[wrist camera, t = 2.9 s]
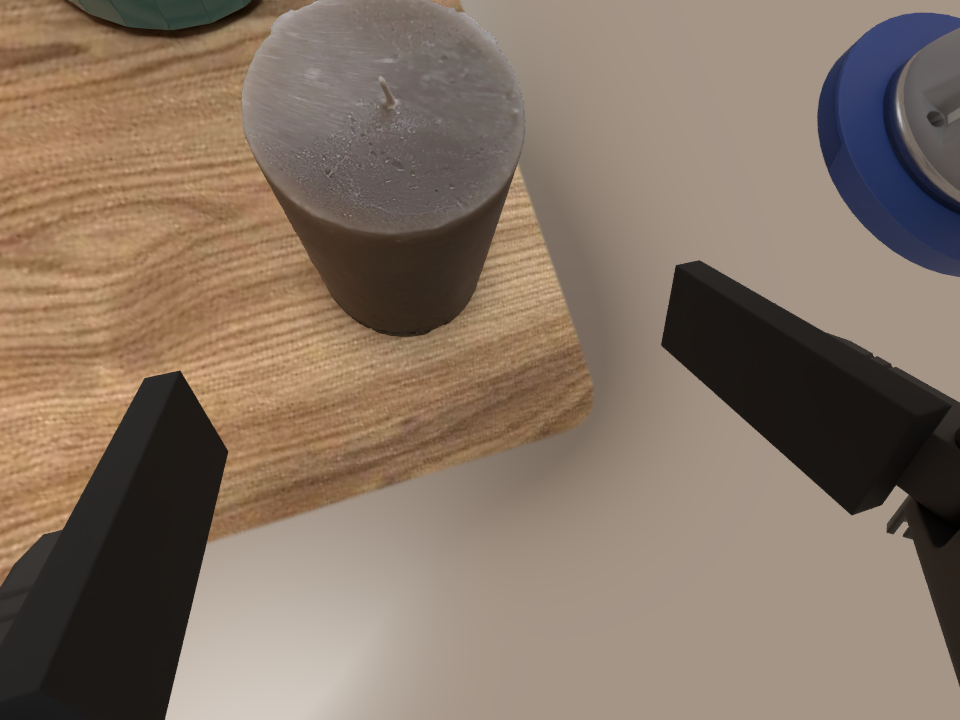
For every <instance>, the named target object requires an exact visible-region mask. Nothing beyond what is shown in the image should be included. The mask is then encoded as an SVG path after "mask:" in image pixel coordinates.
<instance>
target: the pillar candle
mask: <svg viewBox="0 0 960 720" xmlns="http://www.w3.org/2000/svg"><path fill="white" fill-rule="evenodd" d="M270 30H271V34H270V36H269V37H267V38H266V39H265V40H264V41H263V43H262V45H261V47H260V48H259V49H258V50H257V51H256V52H255V54H254V58H253V60H252V62H251V63H250V66H249V69H248V72H247V75H246V78H245V80H244V83H243V89H242V102H241V105H242V122H243V129H244V133H245V137H246V139H247V142H248V144H249V147H250V149H251V151H252V153H253V155H254V157H255V159H256V161H257V163H258V165H259V167H260V168H261V170H262V172H263V174H264V176H265V178H266V180H267V181H268V183H269V185H270V187H271V188H272V190H273V192H274V194H275V196H276V198H277V199H278V201H279V203H280V205H281V206H282V208H283V210H284V211H285V214H286V216H287V217H288V219H289V221H290V223H291V224H292V227H293V229H294V231H295V232H296V233H297V235H298V237H299V238H300V240H301V242H302V244H303V246H304V248H305V249H306V251H307V252H308V255H309V257H310V259H311V261H312V263H313V264H314V265H315V267H316V268H317V270H318V272H319V274H320V276H321V277H322V279H323V281H324V282H325V284H326V286H327V288H328V290H329V291H330V293H331V295H332V297H333V298H334V300H335V301H336V302H337V303H338V304H339V305H340V306H341V307H342V308H343V310H344V311H345V312H346V313H347V314H348V315H349V316H351V317H352V318H353V319H354V320H356V321H357V322H359V323H360V324H362V325H363V326H365V327H367V328H372V330H375V331H376V332H380V333H383V334H388V335H393V336H416V335H423V334H427V333H429V332H430V331H431V330H433V329H435V328H438V327H439V326H441V325H443V324H447V323H449V322H451V321H452V320H453V319H454V318H455V317H456V316H457V315H458V314H459V313H460V312H461V311H462V310H463V309H464V308H465V306H466V305H467V304H468V302H469V300H470V298H471V297H472V295H473V293H474V290H475V288H476V286H477V282H478V279H479V276H480V273H481V271H482V268H483V265H484V262H485V259H486V256H487V253H488V250H489V248H490V244H491V241H492V238H493V235H494V232H495V229H496V226H497V224H498V220H499V218H500V215H501V211H502V208H503V206H504V203H505V200H506V197H507V194H508V191H509V188H510V184H511V182H512V179H513V176H514V172H515V169H516V167H517V164H518V161H519V158H520V155H521V151H522V147H523V143H524V135H525V111H524V101H523V99H522V94H521V91H520V87H519V82H518V80H517V78H516V76H515V73H514V71H513V69H512V67H511V66H510V65H509V63H508V61H507V59H506V57H505V56H504V55H503V53H502V51H501V50H500V49H499V47H498V43H497V41H496V39H495V38H494V36H493V35H492V34H490V33H488V31H483V30H482V29H481V27H480V25H479V24H478V23H477V22H476V21H475V20H473V19H472V18H470V17H469V16H468V15H466V14H465V13H459V12H457V11H455V9H454V8H446V7H444V6H441V5H438V4H436V3H433V2H432V1H430V0H317V1H316V2H314V3H312V4H310V5H308V6H304V7H302V8H301V9H299V10H297V11H293V10H291V9H290V10H289V11H288V12H287V13H285V14H282V15H281V16H280V17H279V18H278V19H277V20H275V22H274V23H273V25H272V26H271V28H270Z"/></svg>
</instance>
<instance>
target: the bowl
mask: <svg viewBox="0 0 960 720" xmlns="http://www.w3.org/2000/svg"><path fill="white" fill-rule="evenodd" d="M69 1H70V2H72V3H73V4H75V5H76V6H78V7H79V8H81V9H82V10H84V11H85V12H87V13H89V14H90V15H93V16H96V17H99V18H102V19H105V20H108V21H111V22H114V23H117V24H120V25H123V26H126V27H131V28H146V29H160V30H177V29H182V28H188V27H193V26H199V25H204V24H210V23H211V22H212V23H213V22H215V21H217V20H219V19H221V18H223V17H225V16H227V15H229V14H231V13H233V12H235V11H237V10H240V9H242V8H244V7H245V6H247V5H248V4H249V3H250V2H251V1H252V0H69Z"/></svg>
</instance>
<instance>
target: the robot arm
mask: <svg viewBox="0 0 960 720" xmlns="http://www.w3.org/2000/svg"><path fill="white" fill-rule="evenodd" d="M884 121H885V127H886V131H887V135H888V138H889V141H890V144H891V146H892V148H893V151H894V153H895V155H896V157H897V159H898V160H899V162H900V164H901V165H902V167H903V168H904V170H905V171H906V172H907V174H908V175H909V176H910V177H911V179H912V180H913V181H914V182H915V183H916V184H917V185H918V186H919V187H920V188H921V189H922V190H923V191H924V192H925V193H926V194H928V195H929V196H930V197H931V198H933V199H934V200H935V201H937V202H938V203H940V204H941V205H943V206H944V207H946V208H948V209H950V210H952V211H954V212H956V213H958V214H960V28H958V29H956V30H954V31H952V32H950V33H948V34H946V35H944V36H942V37H940V38H938V39H936V40H935V41H933V42H931V43H929V44H928V45H926V46H925V47H924V48H922V49H921V50H920V51H918V52H917V53H916V54H914V55H913V56H912V57H911V58H909V59H908V60H907V61H906V62H904V63H903V64H902V65H901V66H900V67H899V68H898V69H897V70H896V71H895V73H894V74H893V76H892V77H891V79H890V81H889V83H888V86H887V89H886V92H885V98H884ZM661 345H662V347H664V348H665V349H666V350H667V351H668V352H669V353H671V355H673V356H674V357H675V358H676V359H677V360H678V361H679V362H681V363H682V364H683V365H684V366H685V367H686V368H687V369H688V370H689V371H690V372H692V373H693V374H694V375H695V376H696V377H697V378H698V379H699V380H701V381H702V382H703V383H704V384H705V385H706V386H707V387H708V388H710V389H711V390H712V391H713V392H714V393H715V394H716V395H717V396H718V397H720V398H721V399H722V400H723V401H724V402H725V403H726V404H728V405H729V406H730V407H731V408H732V409H733V410H734V411H735V412H736V413H738V414H739V415H740V416H741V417H742V418H743V419H744V420H746V421H747V422H748V423H749V424H750V425H751V426H752V427H753V428H754V429H755V430H757V431H758V432H759V433H760V434H761V435H762V436H763V437H765V438H766V439H767V440H768V441H769V442H770V443H771V444H772V445H773V446H775V447H776V448H777V449H778V450H779V451H780V452H781V453H783V454H784V455H785V456H786V457H787V458H788V459H789V460H790V461H791V462H792V463H794V464H795V465H796V466H797V467H798V468H799V469H800V470H802V471H803V472H804V473H805V474H806V475H807V476H808V477H809V478H810V479H812V480H813V481H814V482H815V483H816V484H817V485H818V486H819V487H821V488H822V489H823V490H824V491H825V492H826V493H827V494H828V495H829V496H831V497H832V498H833V499H834V500H835V501H836V502H837V503H838V504H840V505H841V506H842V507H843V508H844V509H845V510H846V511H847V512H848V513H850V514H851V515H854V514H857V513H860V512H863V511H866V510H869V509H872V508H874V507H877V506H880V505H882V504H883V503H884V501H885V500H886V499H887V497H888V496H889V494H890V493H891V491H892V490H893V489H894V487H895V486H896V485H897V486H898V487H900V488H901V489H902V490H903V491H905V492H906V493H907V494H909V495H908V497H907V498H906V499H905V501H904V502H903V503H902V505H901V506H900V507H899V509H898V510H897V511H896V513H895V514H894V515H893V517H892V518H891V519H890V521H889V522H888V523H887V533H891V534H894V533H895V532H896V530H897V529H898V528H899V526H900V525H901V524H902V523H903V522H908V525H909V527H908V528H907V530H906V531H905V533H904V534H903V537H905V538H910V539H913V541H914V544H915V547H916V551H917V554H918V557H919V560H920V563H921V566H922V569H923V573H924V576H925V579H926V582H927V585H928V588H929V591H930V595H931V598H932V601H933V604H934V607H935V610H936V613H937V617H938V620H939V623H940V626H941V629H942V632H943V635H944V639H945V642H946V645H947V648H948V651H949V654H950V657H951V660H952V663H953V667H954V670H955V673H956V676H957V679H958V682H959V686H960V402H958V401H956V400H954V399H952V398H950V397H949V396H947V395H945V394H943V393H941V392H940V391H938V390H936V389H935V388H933V387H931V386H929V385H928V384H926V383H924V382H922V381H920V380H919V379H917V378H915V377H913V376H911V375H910V374H908V373H906V372H904V371H903V370H901V369H899V368H897V367H894V368H893V367H892V366H891V364H890V363H888V362H887V361H885V360H883V359H881V358H880V357H874V356H873V354H872V353H871V352H869V351H867V350H865V349H863V348H862V347H860V346H858V345H857V344H854V343H853V342H851V341H848V340H846V339H843V338H840V337H837V336H834V335H831V334H828V333H825V332H823V331H822V330H820V329H818V328H816V327H814V326H813V325H811V324H809V323H808V322H806V321H804V320H802V319H801V318H799V317H797V316H795V315H794V314H792V313H790V312H789V311H787V310H785V309H783V308H782V307H780V306H778V305H776V304H775V303H773V302H771V301H769V300H768V299H766V298H764V297H762V296H761V295H759V294H757V293H755V292H754V291H752V290H750V289H749V288H747V287H745V286H743V285H741V284H740V283H738V282H736V281H735V280H733V279H731V278H729V277H728V276H726V275H724V274H722V273H721V272H719V271H717V270H715V269H714V268H712V267H710V266H708V265H707V264H705V263H703V262H702V261H694V262H689V263H685V264H680V265H676V268H675V273H674V278H673V284H672V290H671V295H670V300H669V305H668V311H667V316H666V322H665V327H664V332H663V338H662V343H661ZM227 455H228V450H227V448H226V447H225V445H224V443H223V442H222V440H221V438H220V437H219V435H218V433H217V432H216V430H215V428H214V427H213V425H212V423H211V422H210V420H209V418H208V417H207V415H206V413H205V411H204V410H203V408H202V406H201V405H200V403H199V401H198V400H197V398H196V396H195V395H194V393H193V391H192V390H191V388H190V386H189V385H188V383H187V381H186V379H185V378H184V376H183V374H182V373H181V371H176V372H171V373H167V374H162V375H157V376H153V377H148V378H144V380H143V382H142V384H141V386H140V388H139V390H138V391H137V393H136V395H135V397H134V399H133V401H132V403H131V404H130V406H129V408H128V410H127V412H126V414H125V416H124V417H123V419H122V421H121V423H120V425H119V427H118V428H117V430H116V432H115V434H114V436H113V438H112V440H111V441H110V443H109V445H108V447H107V449H106V451H105V453H104V454H103V456H102V458H101V460H100V462H99V464H98V466H97V467H96V469H95V471H94V473H93V475H92V477H91V478H90V480H89V482H88V484H87V486H86V488H85V490H84V491H83V493H82V495H81V497H80V499H79V501H78V503H77V504H76V506H75V508H74V510H73V512H72V514H71V516H70V517H69V519H68V521H67V523H66V525H65V527H64V528H63V530H60V531H56V532H52V533H48V534H44V535H43V536H42V537H41V538H40V539H39V540H38V541H37V542H36V543H35V544H34V545H33V546H32V547H31V548H30V549H29V550H28V551H27V552H26V553H25V554H24V555H23V556H22V557H21V558H20V559H19V560H18V561H17V562H16V563H15V564H14V566H13V568H12V569H11V571H10V573H9V574H8V576H7V578H6V579H5V581H4V583H3V584H2V586H1V588H0V720H165V716H166V712H167V708H168V704H169V700H170V695H171V691H172V687H173V683H174V678H175V674H176V670H177V666H178V661H179V657H180V653H181V649H182V645H183V640H184V636H185V631H186V628H187V623H188V619H189V615H190V611H191V607H192V602H193V598H194V594H195V590H196V586H197V581H198V577H199V573H200V569H201V564H202V560H203V556H204V552H205V548H206V543H207V539H208V535H209V531H210V527H211V522H212V518H213V514H214V510H215V505H216V501H217V497H218V493H219V489H220V484H221V480H222V476H223V472H224V467H225V463H226V459H227Z"/></svg>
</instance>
